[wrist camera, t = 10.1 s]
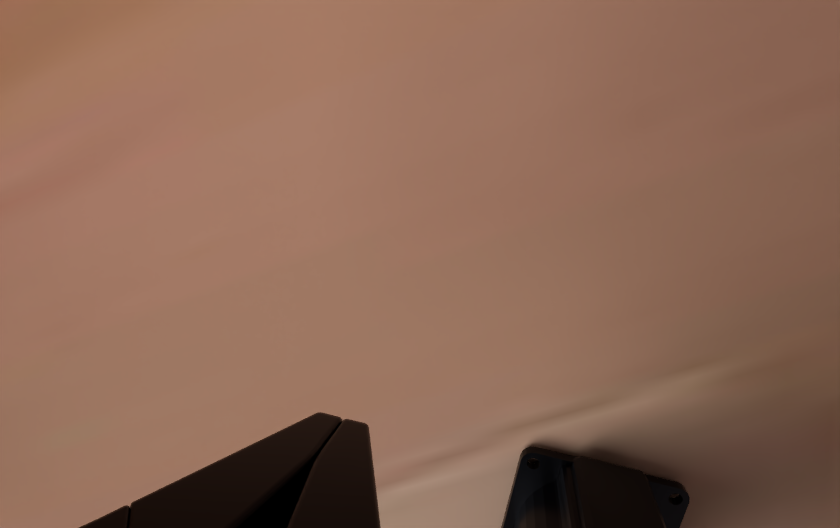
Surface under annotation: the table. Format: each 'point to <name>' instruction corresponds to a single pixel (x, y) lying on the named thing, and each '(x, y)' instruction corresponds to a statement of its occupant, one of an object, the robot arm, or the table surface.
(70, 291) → the table surface
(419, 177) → the table surface
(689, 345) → the table surface
